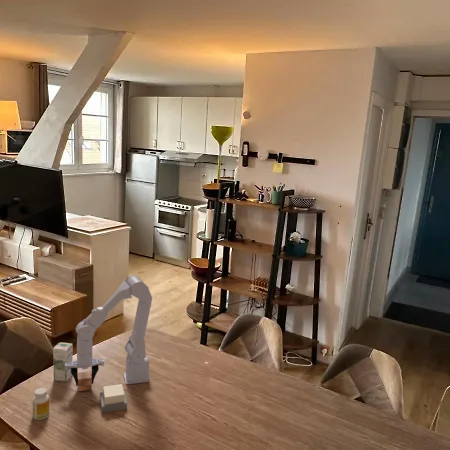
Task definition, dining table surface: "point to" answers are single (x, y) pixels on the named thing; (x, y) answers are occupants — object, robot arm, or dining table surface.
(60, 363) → the syrup box
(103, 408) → the bottom slab
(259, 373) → the dining table surface
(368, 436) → the dining table surface
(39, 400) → the supplement bottle
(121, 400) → the top slab
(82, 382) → the terracotta cube
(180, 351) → the dining table surface
